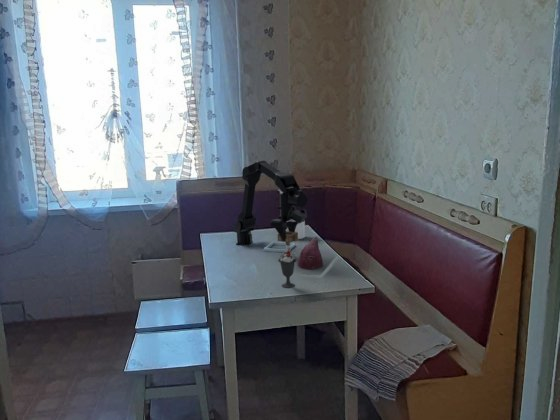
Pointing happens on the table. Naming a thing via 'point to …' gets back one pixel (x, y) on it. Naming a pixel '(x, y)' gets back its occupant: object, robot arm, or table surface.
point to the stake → (287, 249)
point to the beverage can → (300, 230)
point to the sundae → (287, 268)
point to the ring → (289, 237)
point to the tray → (277, 249)
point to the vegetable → (310, 256)
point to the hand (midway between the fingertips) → (287, 239)
